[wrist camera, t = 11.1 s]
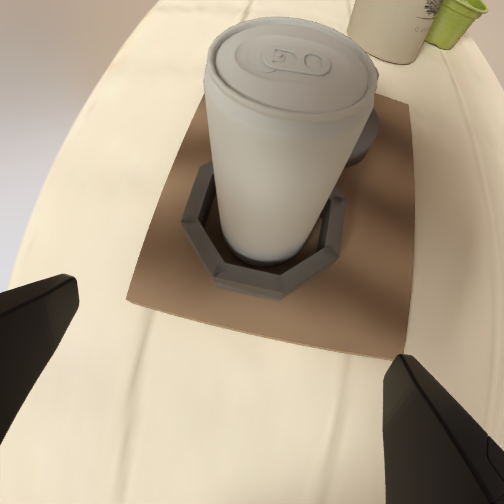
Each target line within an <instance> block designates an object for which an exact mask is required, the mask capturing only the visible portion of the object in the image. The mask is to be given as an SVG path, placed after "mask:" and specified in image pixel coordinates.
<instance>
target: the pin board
mask: <svg viewBox="0 0 504 504" xmlns="http://www.w3.org/2000/svg"><path fill="white" fill-rule="evenodd" d="M374 67H375V66H374ZM375 69H376V67H375ZM376 72H377V80H378V77H379V74H378V71H377V69H376ZM414 224H415V196H414V165H413V148H412V135H411V124H410V115H409V106H408V105H407V104H405V103H402V102H399V101H396V100H393V99H391V98H388V97H385V96H382V95H379V94H375V93H374V107H373V109H372V111H371V114H370V116H369V118H368V120H367V122H366V124H365V126H364V128H363V130H362V132H361V134H360V136H359V138H358V140H357V142H356V145H355V147H354V149H353V151H352V153H351V155H350V157H349V159H348V161H347V163H346V165H345V167H344V169H343V171H342V173H341V175H340V177H339V178H338V180H337V182H336V184H335V186H334V188H333V190H332V192H331V194H330V196H329V198H328V200H327V202H326V204H325V206H324V208H323V210H322V212H321V213H320V215H319V217H318V219H317V221H316V223H315V225H314V227H313V229H312V231H311V232H310V234H309V236H308V238H307V240H306V242H305V244H304V245H303V247H302V249H301V251H300V252H299V253H297V254H296V255H295V256H294V257H293V258H291V259H289V260H287V261H285V262H283V263H280V264H277V265H274V266H264V267H259V266H255V265H250V264H247V263H246V262H244V261H242V260H240V259H239V258H237V257H236V256H235V255H234V254H233V253H232V252H231V251H230V250H229V248H228V246H227V245H226V243H225V241H224V238H223V234H222V230H221V223H220V215H219V208H218V200H217V193H216V185H215V177H214V169H213V161H212V153H211V144H210V136H209V127H208V119H207V110H206V101H205V93H204V95H203V98H202V100H201V102H200V104H199V106H198V108H197V110H196V113H195V115H194V117H193V119H192V121H191V124H190V126H189V128H188V130H187V133H186V135H185V137H184V139H183V142H182V144H181V146H180V149H179V151H178V153H177V156H176V158H175V161H174V163H173V166H172V168H171V171H170V173H169V175H168V178H167V181H166V183H165V186H164V188H163V191H162V193H161V196H160V199H159V201H158V204H157V207H156V209H155V212H154V215H153V218H152V220H151V223H150V226H149V229H148V232H147V234H146V237H145V240H144V243H143V246H142V249H141V252H140V255H139V258H138V261H137V264H136V267H135V271H134V274H133V277H132V280H131V283H130V287H129V290H128V293H127V297H126V300H128V301H129V302H131V303H134V304H137V305H140V306H144V307H147V308H151V309H154V310H157V311H161V312H165V313H168V314H172V315H175V316H179V317H183V318H187V319H190V320H194V321H198V322H202V323H206V324H210V325H214V326H218V327H222V328H226V329H230V330H234V331H238V332H243V333H247V334H251V335H256V336H260V337H265V338H269V339H274V340H279V341H284V342H288V343H293V344H298V345H303V346H309V347H314V348H319V349H325V350H330V351H336V352H341V353H347V354H353V355H359V356H366V357H372V358H379V359H385V360H392V361H394V359H395V357H396V356H397V355H398V354H403V353H404V347H405V340H406V332H407V325H408V316H409V307H410V297H411V286H412V273H413V255H414Z"/></svg>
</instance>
